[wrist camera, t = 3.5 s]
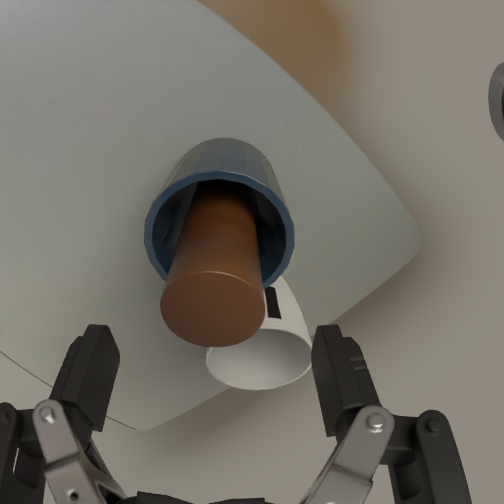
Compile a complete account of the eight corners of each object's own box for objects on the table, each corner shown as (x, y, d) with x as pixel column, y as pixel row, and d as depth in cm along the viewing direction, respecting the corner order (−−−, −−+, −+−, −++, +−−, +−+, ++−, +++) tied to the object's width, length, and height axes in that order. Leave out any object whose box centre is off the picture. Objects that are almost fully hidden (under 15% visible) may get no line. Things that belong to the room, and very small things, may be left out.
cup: (282, 235, 27) (301, 312, 19) (302, 298, 31) (322, 376, 23) (199, 261, 28) (186, 342, 20) (230, 318, 33) (230, 397, 24)
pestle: (237, 156, 23) (238, 255, 11) (259, 203, 25) (280, 331, 13) (187, 179, 23) (139, 293, 12) (211, 223, 26) (193, 357, 14)
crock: (251, 120, 22) (259, 143, 14) (290, 211, 26) (312, 273, 18) (154, 166, 23) (116, 212, 16) (202, 247, 28) (190, 317, 20)
